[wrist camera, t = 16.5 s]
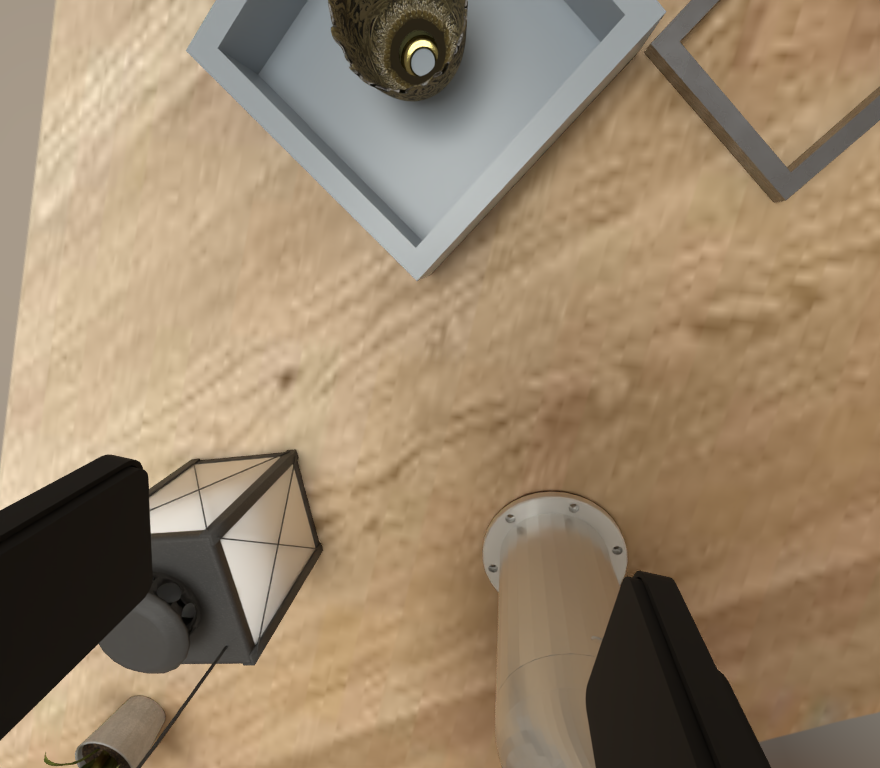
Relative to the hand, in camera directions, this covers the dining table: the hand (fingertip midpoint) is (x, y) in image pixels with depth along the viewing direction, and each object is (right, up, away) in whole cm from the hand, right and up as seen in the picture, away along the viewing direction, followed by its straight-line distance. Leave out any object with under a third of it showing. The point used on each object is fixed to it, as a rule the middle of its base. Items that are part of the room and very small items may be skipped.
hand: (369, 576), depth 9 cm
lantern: (-16, -8, +37) cm, 42 cm away
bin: (0, +26, +24) cm, 35 cm away
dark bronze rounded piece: (0, +26, +23) cm, 35 cm away
